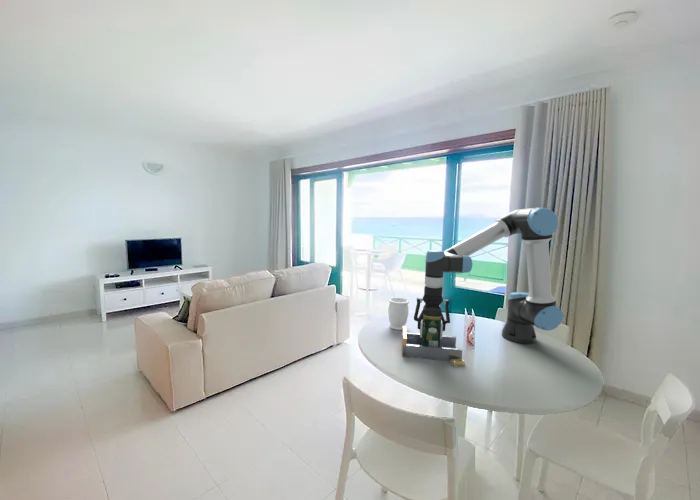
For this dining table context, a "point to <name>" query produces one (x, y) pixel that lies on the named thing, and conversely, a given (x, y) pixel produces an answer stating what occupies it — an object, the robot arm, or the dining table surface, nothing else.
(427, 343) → the coffee jar
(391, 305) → the jar
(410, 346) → the channel
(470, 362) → the dining table surface
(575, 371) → the dining table surface
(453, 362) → the brass key block
